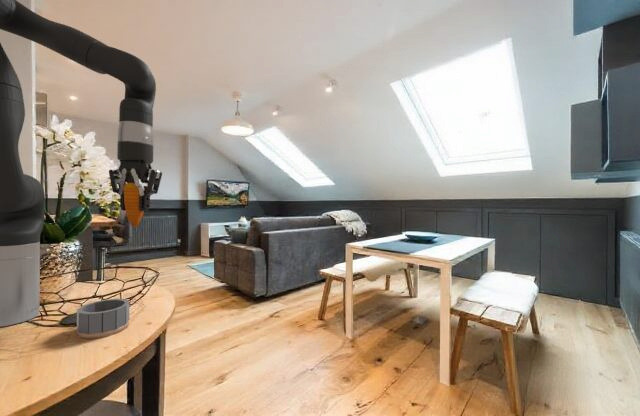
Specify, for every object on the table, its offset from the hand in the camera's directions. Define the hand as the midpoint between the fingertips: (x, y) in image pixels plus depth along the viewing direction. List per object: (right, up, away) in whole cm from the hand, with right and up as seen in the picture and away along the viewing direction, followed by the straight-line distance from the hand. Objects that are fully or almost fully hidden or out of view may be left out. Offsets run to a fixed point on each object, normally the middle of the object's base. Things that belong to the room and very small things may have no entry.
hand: (134, 210), depth 70 cm
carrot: (0, -5, 0) cm, 5 cm away
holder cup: (+1, -25, -11) cm, 27 cm away
